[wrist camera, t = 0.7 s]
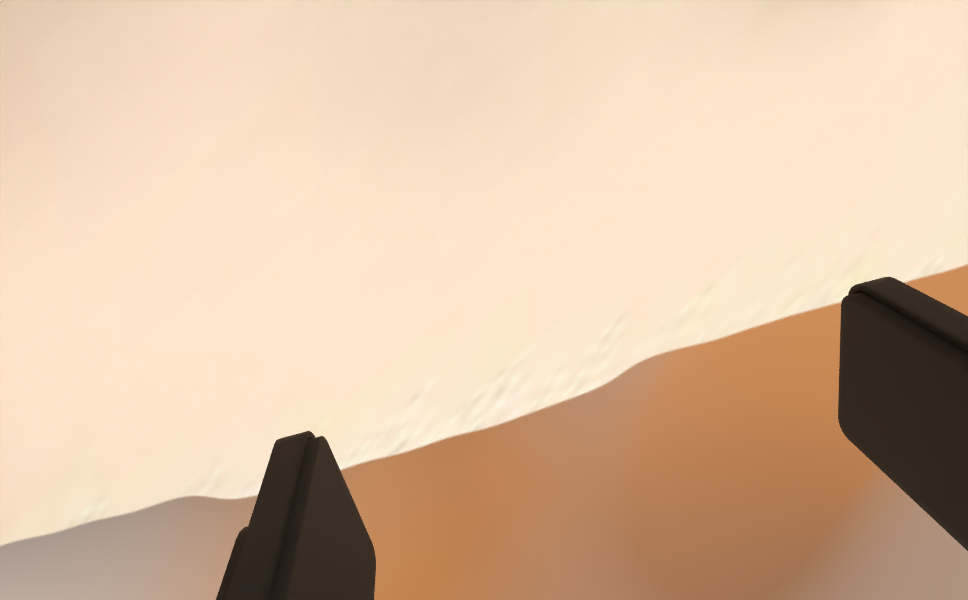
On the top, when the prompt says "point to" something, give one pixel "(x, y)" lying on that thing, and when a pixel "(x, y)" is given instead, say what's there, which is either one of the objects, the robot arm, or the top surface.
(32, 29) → the top surface
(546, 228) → the top surface
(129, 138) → the top surface
